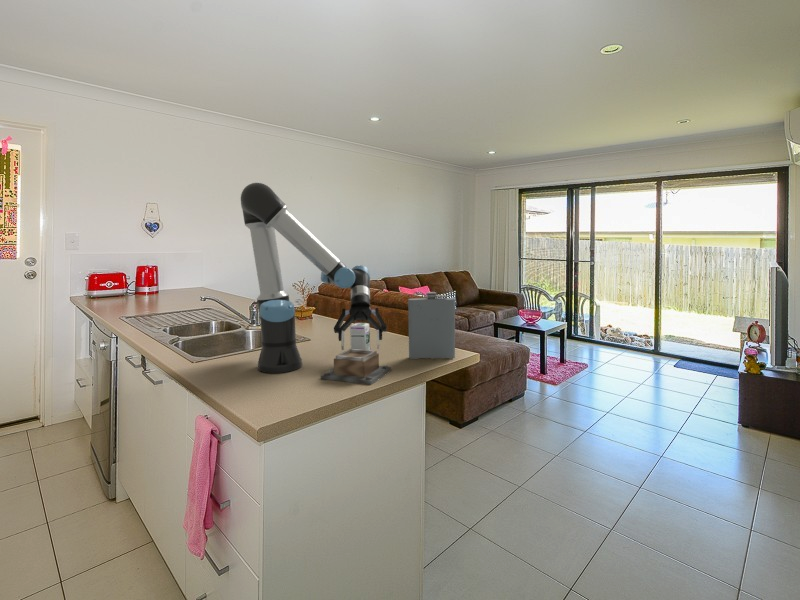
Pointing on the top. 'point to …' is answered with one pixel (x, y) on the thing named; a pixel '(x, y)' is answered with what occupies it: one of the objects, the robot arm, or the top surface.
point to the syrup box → (360, 336)
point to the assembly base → (357, 379)
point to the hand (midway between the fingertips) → (360, 347)
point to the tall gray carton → (431, 327)
